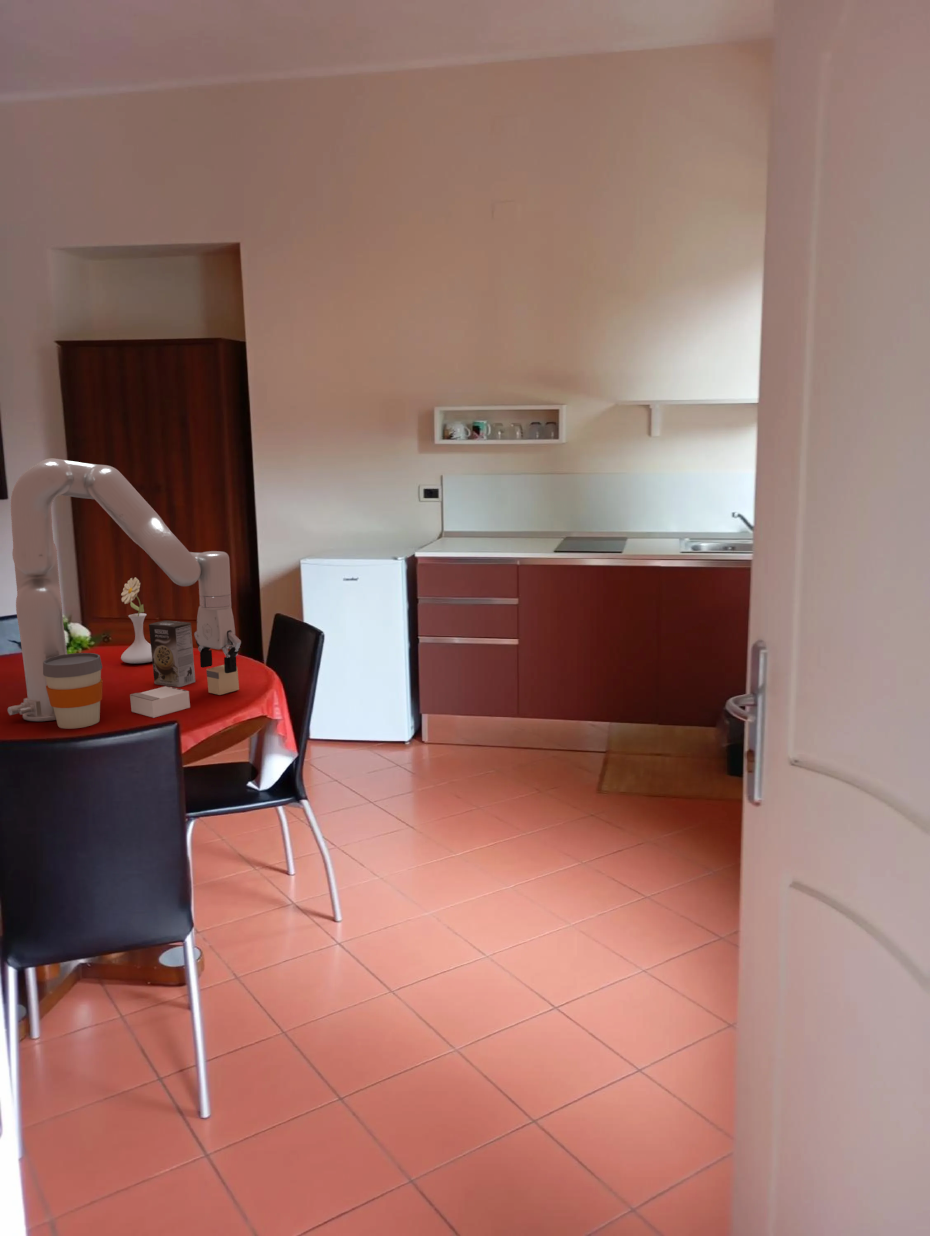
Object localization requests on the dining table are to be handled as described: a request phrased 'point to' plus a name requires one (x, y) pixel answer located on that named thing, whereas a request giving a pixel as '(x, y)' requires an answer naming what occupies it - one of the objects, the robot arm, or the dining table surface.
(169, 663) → the coffee box
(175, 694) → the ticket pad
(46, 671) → the reusable coffee cup
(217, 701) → the dining table surface
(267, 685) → the dining table surface
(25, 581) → the robot arm
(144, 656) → the flower in vase
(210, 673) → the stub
